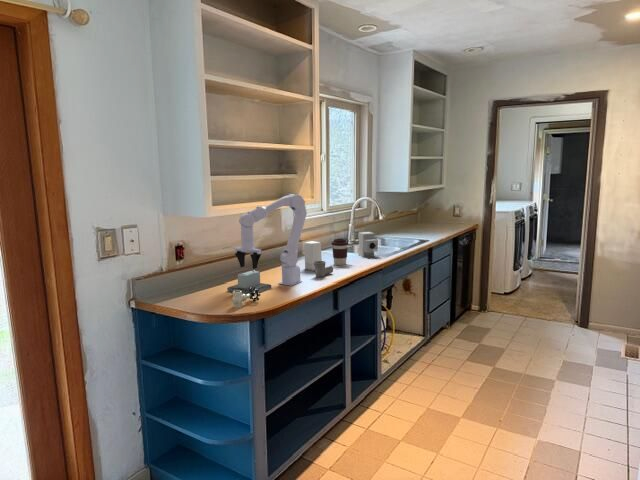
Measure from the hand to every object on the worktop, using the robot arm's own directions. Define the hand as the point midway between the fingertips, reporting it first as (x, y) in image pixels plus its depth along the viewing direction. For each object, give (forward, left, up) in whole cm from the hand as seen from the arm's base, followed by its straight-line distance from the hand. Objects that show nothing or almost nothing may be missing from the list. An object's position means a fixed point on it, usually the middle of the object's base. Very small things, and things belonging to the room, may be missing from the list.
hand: (248, 267), depth 211 cm
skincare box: (-49, +5, -10) cm, 50 cm away
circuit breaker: (-98, +16, -10) cm, 100 cm away
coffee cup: (-68, +12, -10) cm, 70 cm away
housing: (+3, +2, -8) cm, 9 cm away
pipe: (-38, +18, -10) cm, 43 cm away
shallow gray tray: (+3, +3, -10) cm, 11 cm away
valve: (+22, +16, -10) cm, 29 cm away
